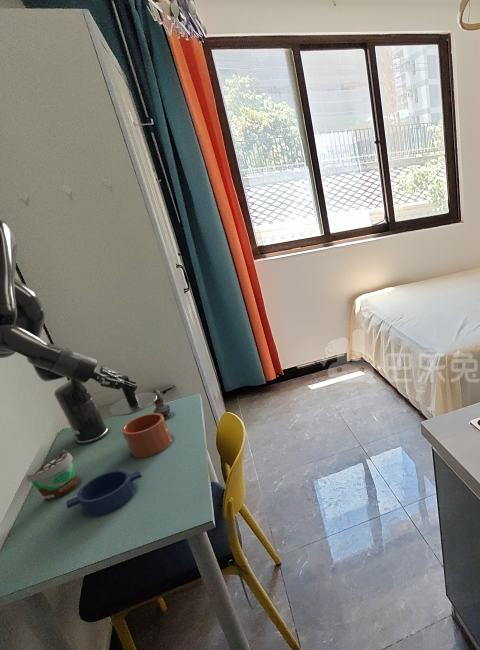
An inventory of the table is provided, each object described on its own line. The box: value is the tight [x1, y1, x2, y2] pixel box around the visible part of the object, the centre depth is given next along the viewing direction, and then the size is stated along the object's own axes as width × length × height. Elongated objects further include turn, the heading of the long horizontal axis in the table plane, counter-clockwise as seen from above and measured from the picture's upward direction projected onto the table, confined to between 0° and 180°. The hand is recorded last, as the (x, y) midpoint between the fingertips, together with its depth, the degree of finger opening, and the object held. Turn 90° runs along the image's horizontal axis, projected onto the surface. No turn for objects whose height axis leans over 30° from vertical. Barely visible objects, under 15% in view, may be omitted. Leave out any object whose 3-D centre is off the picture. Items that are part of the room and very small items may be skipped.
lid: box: [109, 375, 157, 417], centre depth 139 cm, size 14×14×10 cm
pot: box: [121, 412, 173, 458], centre depth 146 cm, size 12×12×9 cm
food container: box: [26, 449, 80, 501], centre depth 129 cm, size 12×6×10 cm, turn 168°
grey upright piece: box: [151, 388, 174, 421], centre depth 162 cm, size 6×6×12 cm
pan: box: [66, 470, 142, 517], centre depth 124 cm, size 13×18×5 cm
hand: (134, 386), depth 139 cm, fingers closed on lid, 3 cm apart
